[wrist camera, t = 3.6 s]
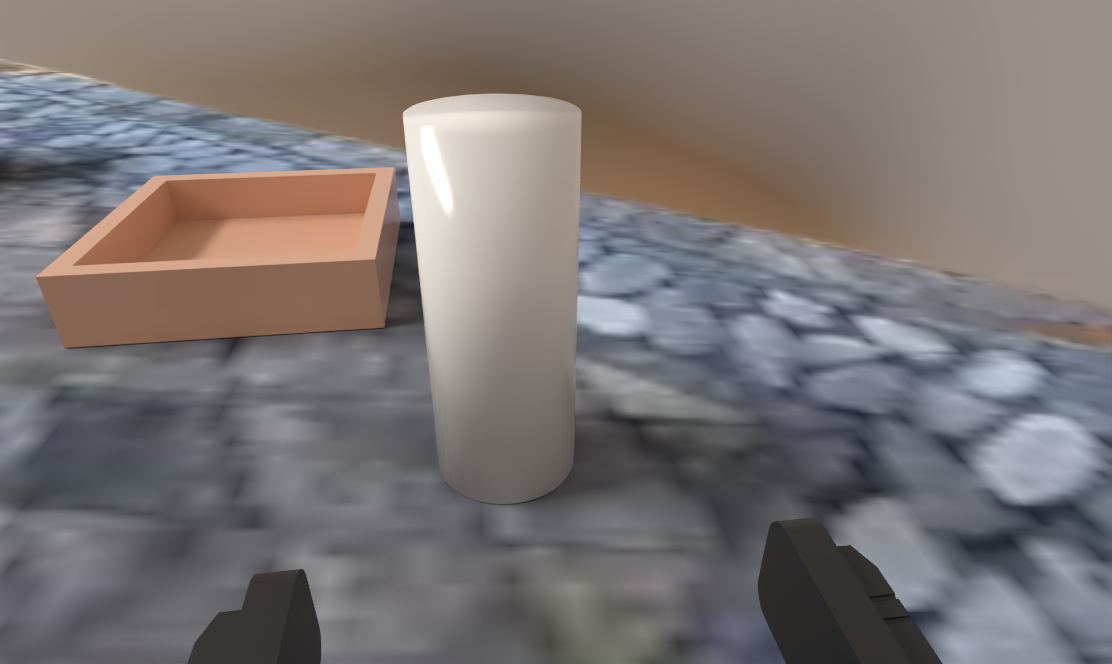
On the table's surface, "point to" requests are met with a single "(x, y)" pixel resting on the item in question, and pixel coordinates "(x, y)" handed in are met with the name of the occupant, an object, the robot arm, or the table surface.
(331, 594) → the table surface
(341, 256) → the terracotta tray
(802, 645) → the robot arm
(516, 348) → the ceramic canister
